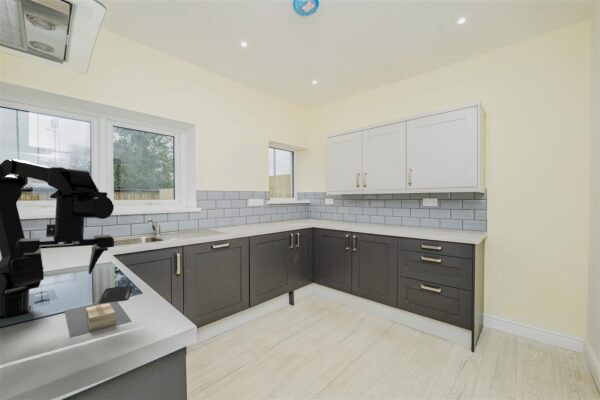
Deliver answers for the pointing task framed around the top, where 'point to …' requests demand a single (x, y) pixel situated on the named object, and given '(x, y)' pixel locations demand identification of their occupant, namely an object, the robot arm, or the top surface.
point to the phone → (115, 294)
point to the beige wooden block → (100, 316)
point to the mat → (79, 324)
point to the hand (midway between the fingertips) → (67, 276)
